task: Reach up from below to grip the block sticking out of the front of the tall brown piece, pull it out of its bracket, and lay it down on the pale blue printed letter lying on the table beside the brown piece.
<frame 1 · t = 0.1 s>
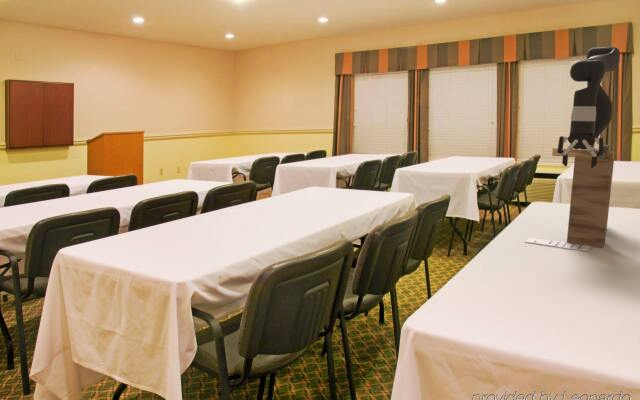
hand: (578, 166, 180), 29 cm above the table, tool pointing down, fingers open, 8 cm apart
letter: (557, 244, 189), on the table
brown piece: (585, 243, 191), on the table
block: (582, 157, 188), point 32 cm above the table, touching brown piece
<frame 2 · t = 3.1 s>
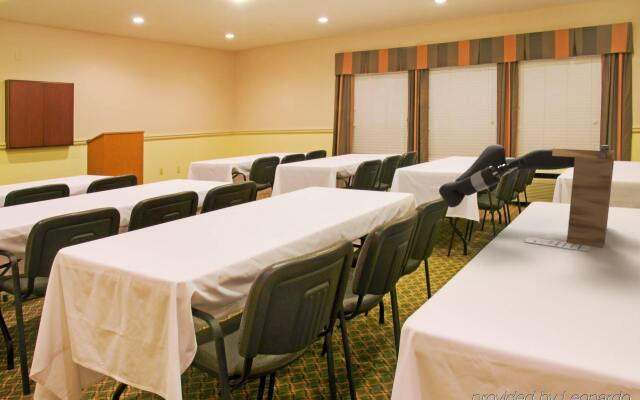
hand: (522, 161, 199), 29 cm above the table, tool pointing upward, fingers open, 8 cm apart
nothing on the table moved.
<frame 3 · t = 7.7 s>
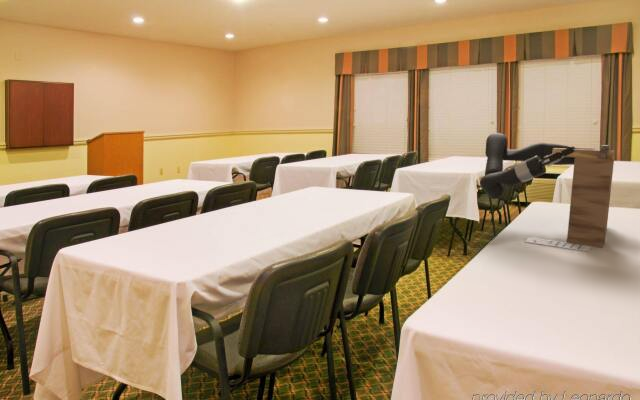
hand: (573, 148, 189), 35 cm above the table, tool pointing upward, fingers closed on block, 2 cm apart
block: (582, 157, 188), point 32 cm above the table, touching gripper, brown piece
everything else where it was.
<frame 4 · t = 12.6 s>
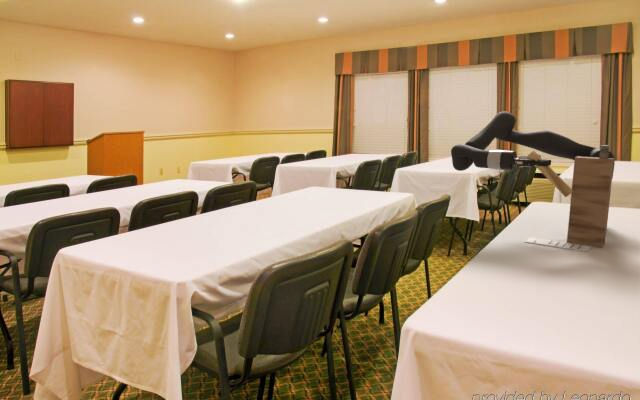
hand: (549, 163, 187), 30 cm above the table, tool horizontal, fingers closed on block, 2 cm apart
block: (546, 176, 188), point 25 cm above the table, tilted 43°, touching gripper
everything else where it was.
when the fingers open (12 cm above the table, at t = 15.9 s): block drops 7 cm, resting on letter.
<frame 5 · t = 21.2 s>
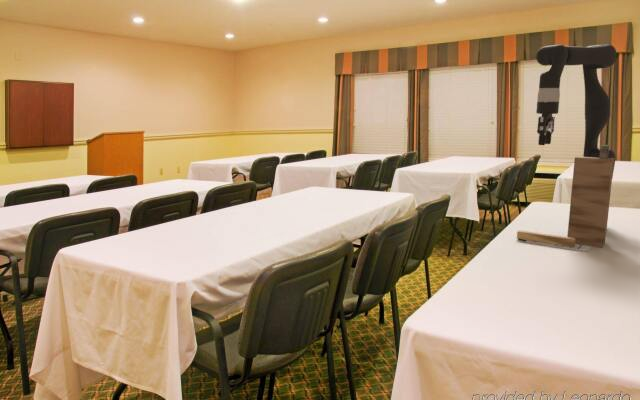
hand: (544, 144, 194), 36 cm above the table, tool pointing down, fingers open, 8 cm apart
block: (545, 241, 192), resting on letter
everything else where it was.
at the end: block inside the target area on the letter (4.2 cm from its centre), point 0.4 cm above the letter's base; block resting on letter; the gripper is holding nothing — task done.
